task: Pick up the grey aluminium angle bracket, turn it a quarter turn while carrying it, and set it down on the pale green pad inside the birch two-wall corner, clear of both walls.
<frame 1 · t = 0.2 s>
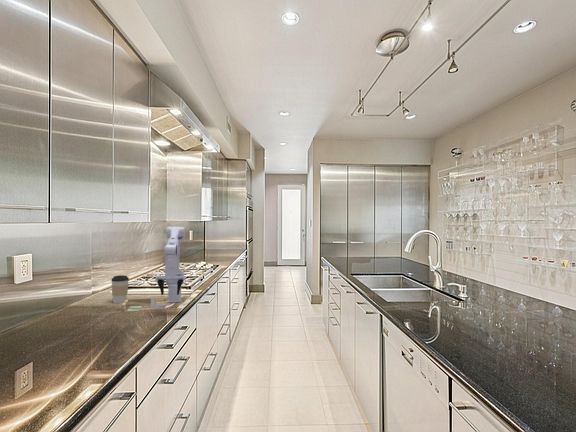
hand: (170, 294, 166), 10 cm above the worktop, tool pointing down, fingers open, 7 cm apart
arena: (138, 308, 175), on the worktop
bracket: (157, 308, 175), on the worktop
coffee cup: (119, 302, 187), on the worktop
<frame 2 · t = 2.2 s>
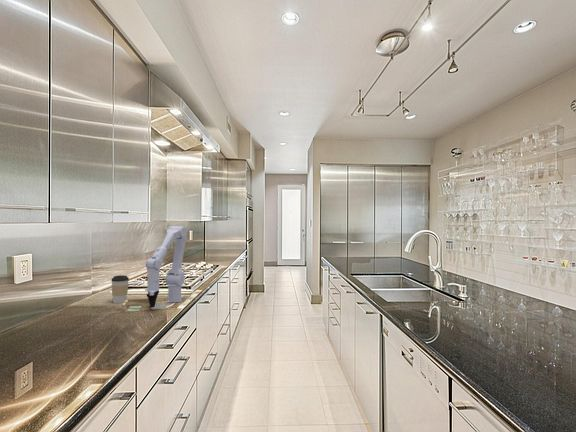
hand: (152, 305, 175), 1 cm above the worktop, tool pointing down, fingers closed on bracket, 4 cm apart
bracket: (158, 308, 176), on the worktop, touching gripper
everything else where it was.
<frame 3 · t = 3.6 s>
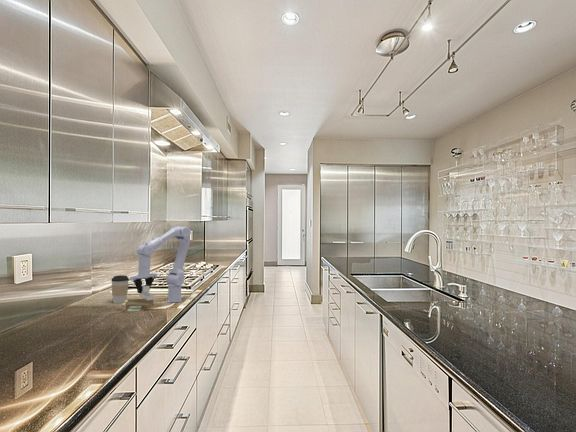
hand: (143, 292, 175), 8 cm above the worktop, tool pointing down, fingers closed on bracket, 4 cm apart
bracket: (146, 297, 173), point 6 cm above the worktop, tilted 8°, touching gripper
everything else where it was.
when the fingers open (3 cm above the worktop, at t = 5.3 s): bracket stays where it is, resting on arena.
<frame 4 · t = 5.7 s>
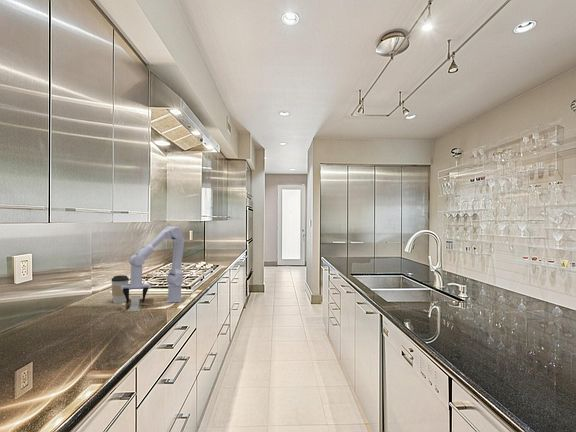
hand: (135, 302, 175), 3 cm above the worktop, tool pointing down, fingers open, 7 cm apart
bracket: (134, 308, 172), resting on arena
everything else where it was.
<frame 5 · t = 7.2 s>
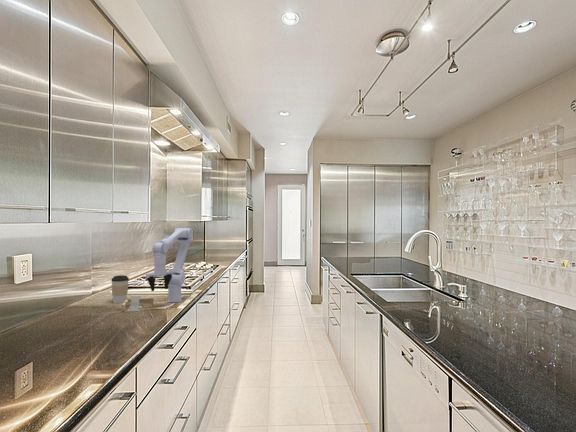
hand: (159, 289, 177), 10 cm above the worktop, tool pointing down, fingers open, 7 cm apart
nothing on the worktop moved.
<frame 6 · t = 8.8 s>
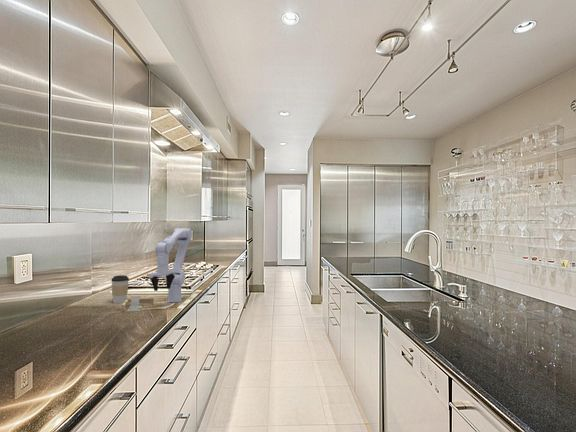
hand: (162, 289, 177), 10 cm above the worktop, tool pointing down, fingers open, 7 cm apart
nothing on the worktop moved.
at the end: bracket 1.0 cm from the target spot on the arena, point 0.3 cm above the arena's base; bracket tilted 0°; the gripper is holding nothing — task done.
